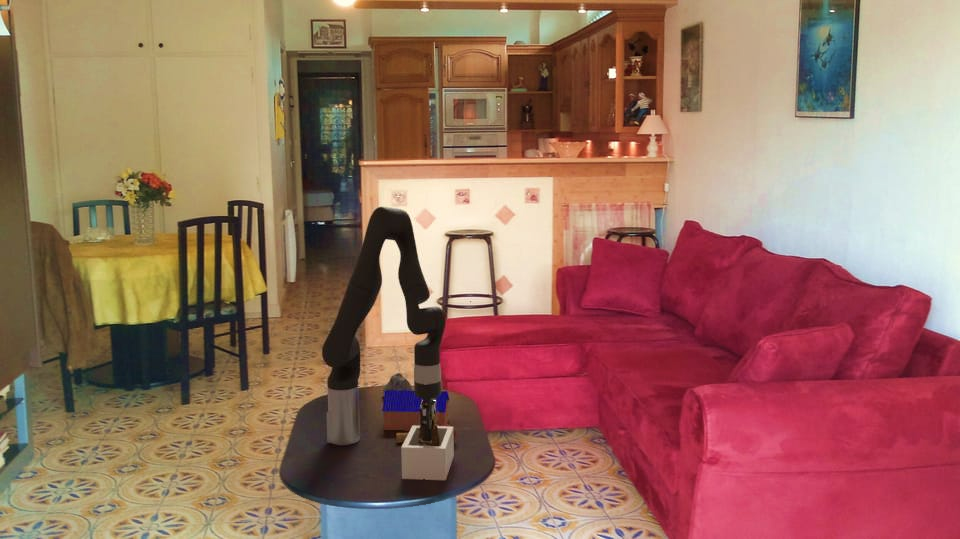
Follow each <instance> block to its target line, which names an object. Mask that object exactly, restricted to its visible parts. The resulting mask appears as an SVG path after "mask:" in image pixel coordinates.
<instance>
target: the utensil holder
mask: <svg viewBox="0 0 960 539" xmlns="http://www.w3.org/2000/svg"><path fill="white" fill-rule="evenodd" d="M438 414H439V411H438ZM438 414H437V413H436V412H435V416H434V420H433V422H434V424H431V441H423V428H421V427H420V428H419V431H420V432H419V435H418V446H439V433H438V432H437V431H438V427H437V425H435V424H436V422H437V420H438ZM419 417H420V415H419ZM424 423H425V422H424Z"/></svg>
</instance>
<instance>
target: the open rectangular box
mask: <svg viewBox="0 0 960 539" xmlns="http://www.w3.org/2000/svg"><path fill="white" fill-rule="evenodd" d="M437 427H438V431H437V432H438V433H439V446H418V435H419V432H420V431H419V428H420V426H412V427H411V429H410V431H408V432H407V433H408V435H407V437H406V439H405V441H404V442H402V445H401V451H400V452H401V479H402V480H423V479H425V480H429V481H447V477H448V475H449V471H450V468H451V466H452V463H453V460H454V456H455V451H454V450H455V449H454V448H455V447H454V443H455V440H454V430H453V428H454V426H452V427H446V426H437Z"/></svg>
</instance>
